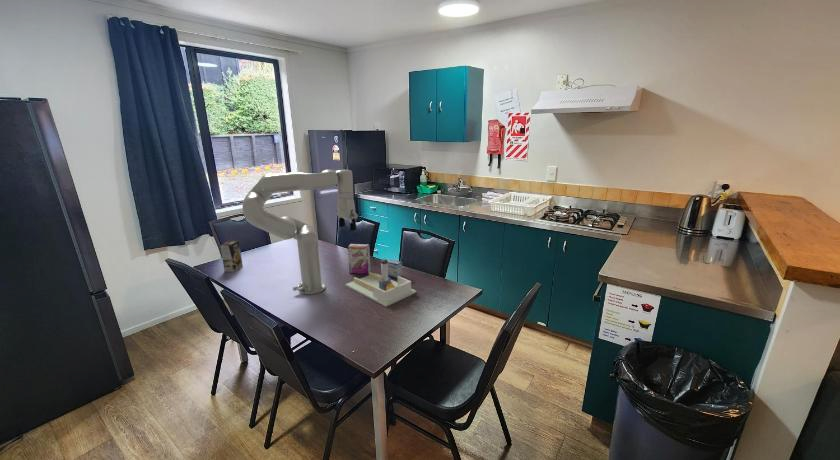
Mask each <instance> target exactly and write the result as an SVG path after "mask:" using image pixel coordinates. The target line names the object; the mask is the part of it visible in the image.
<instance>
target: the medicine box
mask: <svg viewBox="0 0 840 460" xmlns="http://www.w3.org/2000/svg"><path fill="white" fill-rule="evenodd" d="M387 260H388V277H389V278H393V279H397V277H398V276H400V277H403V262H402V261H400V260H398V261H397V260H394V259H387Z"/></svg>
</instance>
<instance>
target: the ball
mask: <svg viewBox="0 0 840 460" xmlns="http://www.w3.org/2000/svg"><path fill="white" fill-rule="evenodd" d="M394 287H395V286H394V285H393V284H388V285H387V286H386V290H389V289H392V288H394Z"/></svg>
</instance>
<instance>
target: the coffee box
mask: <svg viewBox="0 0 840 460" xmlns="http://www.w3.org/2000/svg"><path fill="white" fill-rule="evenodd" d="M219 247H220V252H221V260H222V264H223V270H224V272H225V273H226V272H227V273H229V272H233V273H235V272H236V271H238V270H240V269H241V268H242V267H243V259H242V253H241V247H240V240H228V241H225V242H224V243H222V244H221V245H219Z"/></svg>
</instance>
